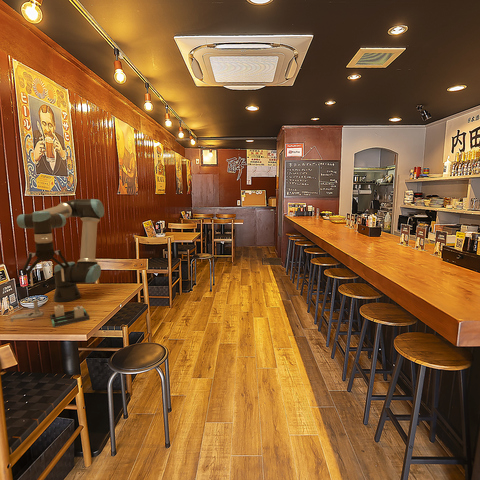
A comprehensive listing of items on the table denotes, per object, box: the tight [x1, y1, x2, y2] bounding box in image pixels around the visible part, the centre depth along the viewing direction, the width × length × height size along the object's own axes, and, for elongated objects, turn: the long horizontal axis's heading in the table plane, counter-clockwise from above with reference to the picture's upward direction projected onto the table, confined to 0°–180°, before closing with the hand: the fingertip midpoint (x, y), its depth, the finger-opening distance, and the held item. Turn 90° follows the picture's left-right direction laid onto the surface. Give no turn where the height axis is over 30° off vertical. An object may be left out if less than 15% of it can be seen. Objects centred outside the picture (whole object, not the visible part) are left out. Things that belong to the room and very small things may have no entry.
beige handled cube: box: [73, 305, 85, 318], centre depth 160 cm, size 4×4×7 cm
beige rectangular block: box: [53, 303, 65, 317], centre depth 161 cm, size 4×4×7 cm
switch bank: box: [49, 307, 90, 328], centre depth 161 cm, size 17×16×3 cm
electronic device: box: [10, 300, 44, 323], centre depth 163 cm, size 5×10×15 cm
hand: (48, 283), depth 156 cm, fingers open, 13 cm apart
